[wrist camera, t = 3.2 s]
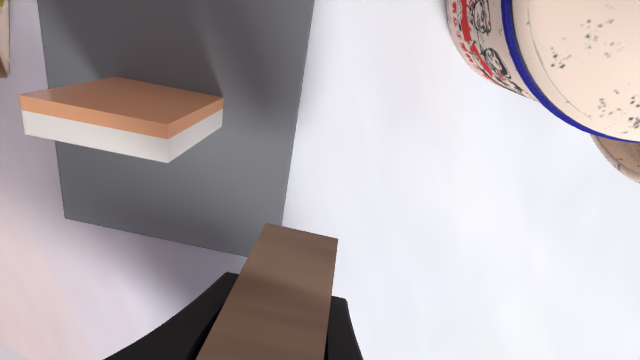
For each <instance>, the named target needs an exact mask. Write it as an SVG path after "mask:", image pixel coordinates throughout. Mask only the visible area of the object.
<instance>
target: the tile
mask: <svg viewBox="0 0 640 360" xmlns="http://www.w3.org/2000/svg"><path fill="white" fill-rule="evenodd" d="M19 99H20V106H21V112H22V118H23V124H24V131H25V134H26V135H31V136H36V137H41V138H46V139H51V140H56V141H61V142H66V143H71V144H76V145H81V146H86V147H91V148H95V149H100V150H105V151H110V152H115V153H120V154H125V155H130V156H135V157H140V158H145V159H150V160H155V161H160V162H165V163H169V162H170V161H172V160H173V159H175V158H176V157H178V156H179V155H181V154H182V153H183V152H185V151H186V150H188V149H189V148H191V147H192V146H194V145H195V144H197V143H198V142H200V141H201V140H203V139H204V138H206V137H207V136H208V135H210V134H211V133H213V132H214V131H216V130H217V129H219V128H220V127H222V116H223V100H224V97H219V96H213V95H208V94H203V93H198V92H193V91H188V90H183V89H177V88H172V87H167V86H162V85H157V84H152V83H147V82H141V81H136V80H131V79H126V78H121V77H111V78H105V79H100V80H95V81H89V82H84V83H79V84H74V85H68V86H63V87H58V88H53V89H47V90H42V91H37V92H32V93H26V94H21V95H19Z"/></svg>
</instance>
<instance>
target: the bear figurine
mask: <svg viewBox="0 0 640 360" xmlns="http://www.w3.org/2000/svg"><path fill="white" fill-rule="evenodd" d="M9 57H10V53H9V7H8V0H0V77H1V78H7V75H8V72H9V73H10V69H9Z"/></svg>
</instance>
